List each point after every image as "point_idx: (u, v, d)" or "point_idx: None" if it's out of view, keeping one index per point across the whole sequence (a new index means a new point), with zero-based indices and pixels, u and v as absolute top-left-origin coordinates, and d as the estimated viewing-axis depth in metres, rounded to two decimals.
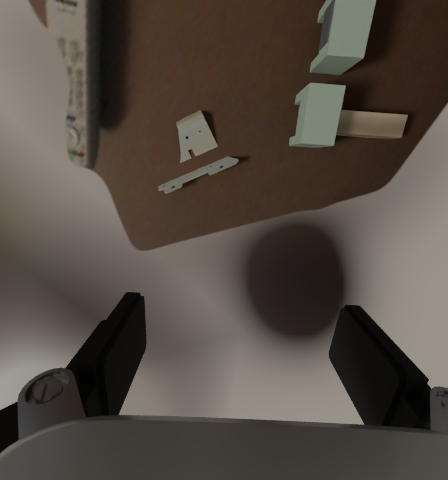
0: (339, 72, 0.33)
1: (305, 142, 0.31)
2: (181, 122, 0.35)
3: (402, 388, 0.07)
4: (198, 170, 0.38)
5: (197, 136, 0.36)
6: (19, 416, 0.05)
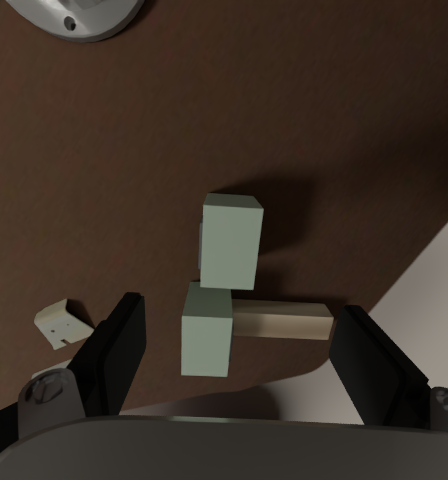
0: None
1: (187, 373, 0.23)
2: (40, 317, 0.27)
3: (402, 388, 0.07)
4: None
5: (67, 328, 0.28)
6: (19, 416, 0.05)
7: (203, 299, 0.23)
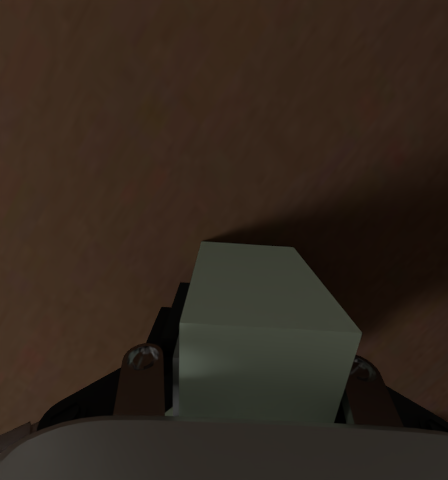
0: None
1: None
2: None
3: None
4: None
5: None
6: (120, 374, 0.07)
7: None
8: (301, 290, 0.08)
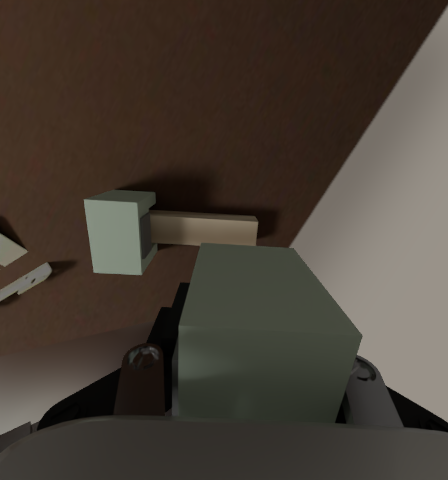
0: None
1: (100, 271, 0.22)
2: None
3: None
4: (14, 283, 0.29)
5: None
6: (121, 374, 0.07)
7: (117, 195, 0.23)
8: (301, 292, 0.07)
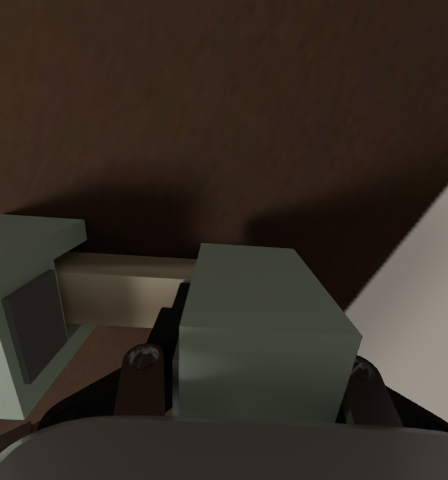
0: None
1: None
2: None
3: None
4: None
5: None
6: (121, 374, 0.07)
7: None
8: (301, 292, 0.08)
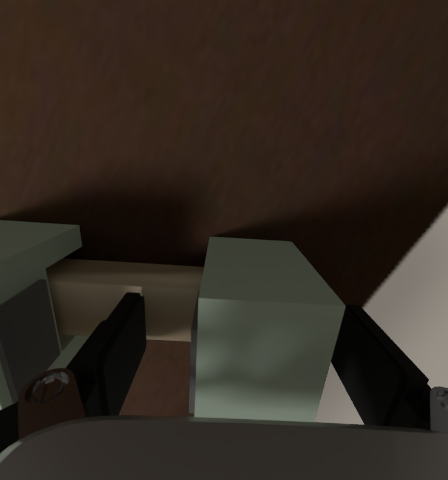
0: None
1: None
2: None
3: (402, 388, 0.07)
4: None
5: None
6: (19, 416, 0.05)
7: None
8: (297, 275, 0.09)
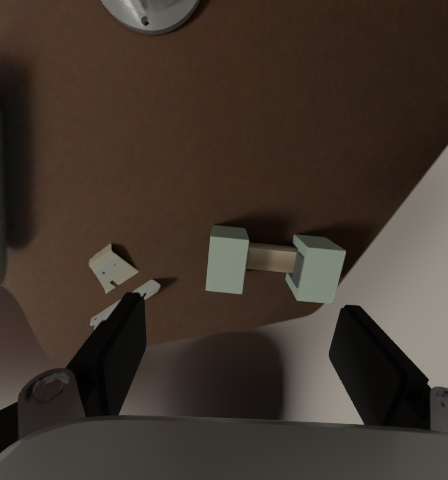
0: None
1: (210, 289, 0.29)
2: (93, 260, 0.34)
3: (402, 388, 0.07)
4: None
5: (114, 269, 0.34)
6: (19, 416, 0.05)
7: (225, 232, 0.30)
8: (331, 245, 0.29)
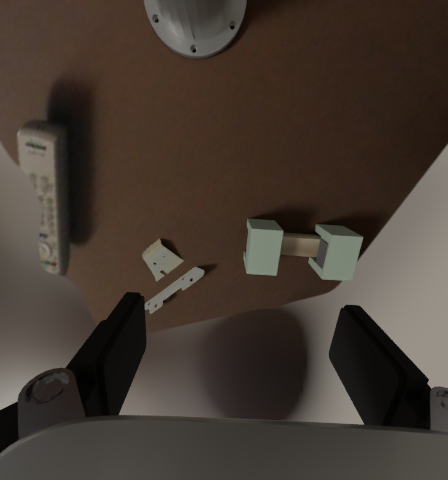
0: None
1: (250, 273, 0.35)
2: (146, 254, 0.39)
3: (402, 388, 0.07)
4: (173, 284, 0.42)
5: (163, 260, 0.40)
6: (19, 416, 0.05)
7: (260, 224, 0.35)
8: (350, 232, 0.35)
